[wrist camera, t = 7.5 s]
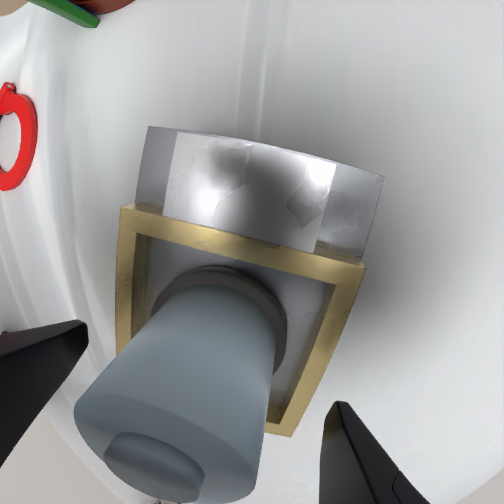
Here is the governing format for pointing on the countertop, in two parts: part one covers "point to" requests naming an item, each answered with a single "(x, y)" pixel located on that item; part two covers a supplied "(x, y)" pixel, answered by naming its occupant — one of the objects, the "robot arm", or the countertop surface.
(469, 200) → the countertop surface
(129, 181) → the countertop surface
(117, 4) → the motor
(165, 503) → the coffee box
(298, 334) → the grey boxy piece
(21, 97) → the tow hook
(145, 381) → the pale blue cylinder
